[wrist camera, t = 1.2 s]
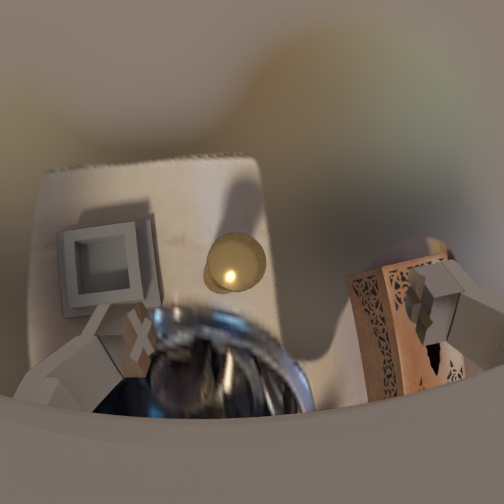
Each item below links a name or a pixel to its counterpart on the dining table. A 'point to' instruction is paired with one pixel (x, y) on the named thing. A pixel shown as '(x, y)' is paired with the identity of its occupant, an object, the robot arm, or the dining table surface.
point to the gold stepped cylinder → (234, 264)
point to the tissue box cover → (397, 335)
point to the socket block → (107, 267)
